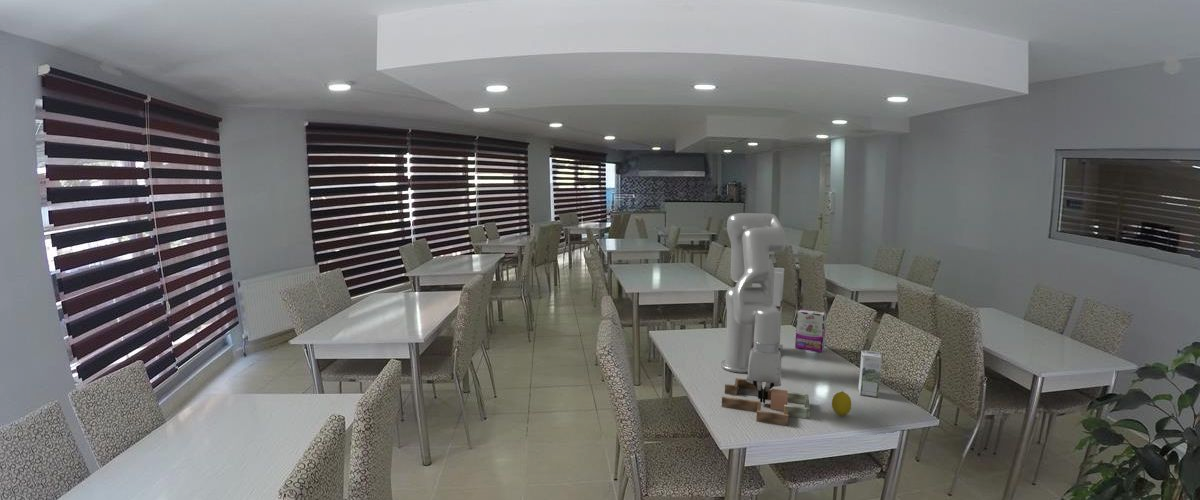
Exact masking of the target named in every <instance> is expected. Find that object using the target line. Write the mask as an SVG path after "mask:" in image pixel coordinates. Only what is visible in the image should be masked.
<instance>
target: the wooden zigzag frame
mask: <svg viewBox="0 0 1200 500" xmlns="http://www.w3.org/2000/svg"><path fill="white" fill-rule="evenodd" d="M763 383H764V382H761V384H762V385H763ZM763 390H764V388H763ZM724 394H726V395H732V396H733V395H734V396H738V395H744V396H753V397H758V389H757V388H756V386H755V385H754V384H751V383H749V382H747V378H739V377H736V378H735V381H734V384H727V383H725V384H724ZM809 396H810V395H809V394H807V393H799V392H792V391H791V392H790V391H788V400H787V403H795V404H802V405H804V407H803V406H797V405H788V404H787V405H784V411H783V413H779V412H778V413H777V412H773V411H772V412H771V411H765V410H761V409H762V403H761V402H760V400H750V399H745V398H737V397H729V396H722V397H721V407H723V408H730V409H735V410H743V411H751V412H752V411H753V412H756V422H760V423H768V424H773V425H781V426H782V425H783V426H788V425H789V417H795V418H802V419H811V417H810V416H811V406H810V397H809ZM768 400H770V401H771V389H770V390H769V391H768Z"/></svg>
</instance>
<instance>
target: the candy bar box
mask: <svg viewBox="0 0 1200 500" xmlns="http://www.w3.org/2000/svg"><path fill="white" fill-rule="evenodd" d="M826 324H827V312H823V311H815V310H814V311H813V310H806V309H798V310H797V311H796V324H795V325H796V326H795V329H796V330H795V341H794V342H795V343H794V344H795V345H794V348H795V349H796V350H797V349H798V350H803V351H808V352H809V351H810V352H815V353H816V352H817V353H820V354H821V353H823V352H824V350H825V343H826V342H825V341H826V339H825V338H826Z"/></svg>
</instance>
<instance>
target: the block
mask: <svg viewBox="0 0 1200 500" xmlns="http://www.w3.org/2000/svg"><path fill="white" fill-rule="evenodd" d="M770 390H771V400H770V405H769V406H770V407H769V410H772V411H774V410H775V411H780V412H784V405H788V402H787V400H788V392H789V391H788V390H787V389H780V388H779V389H778V388H771V389H770Z"/></svg>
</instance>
